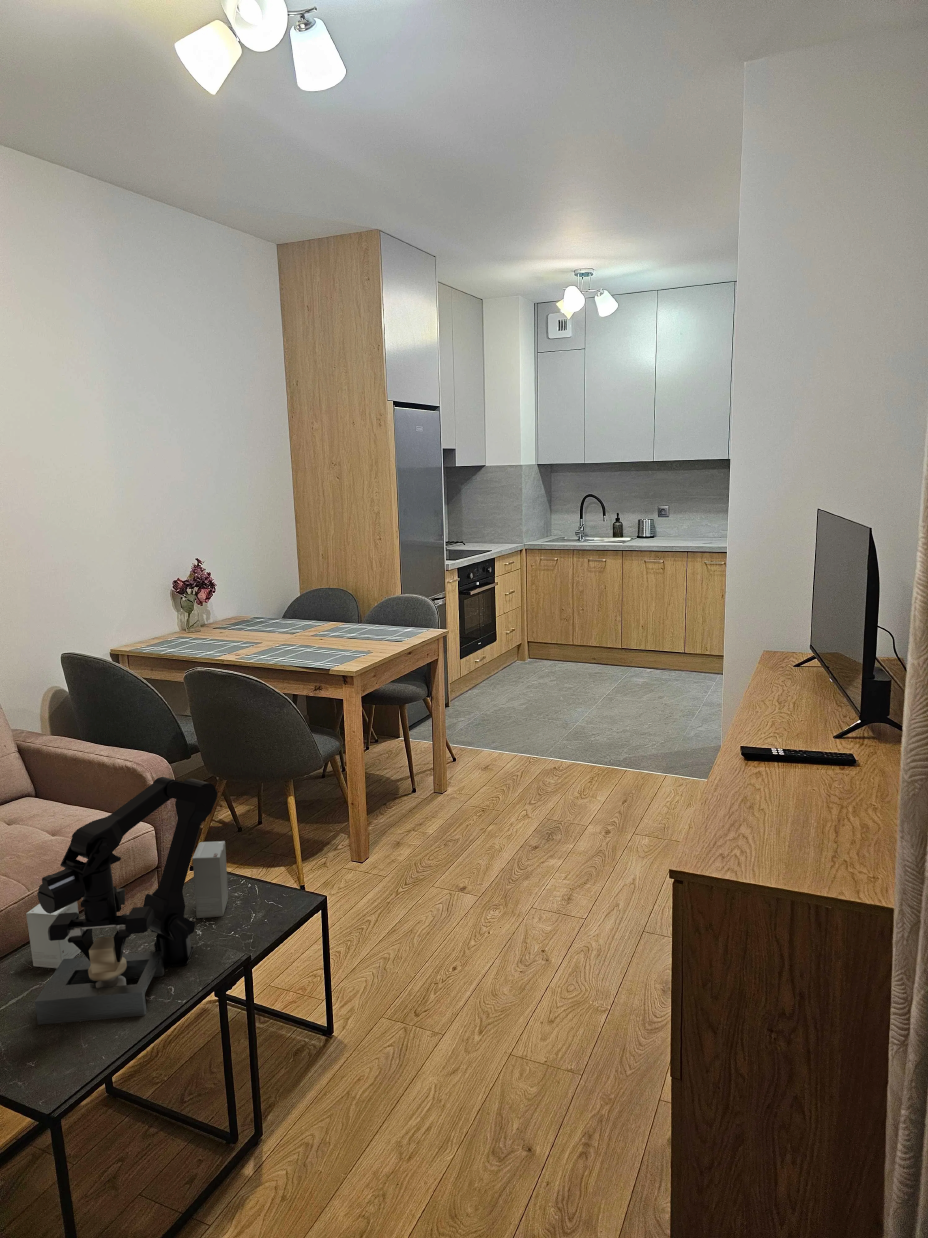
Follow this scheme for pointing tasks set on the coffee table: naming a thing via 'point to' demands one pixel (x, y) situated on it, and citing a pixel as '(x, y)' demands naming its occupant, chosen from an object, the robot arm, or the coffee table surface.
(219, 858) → the skincare box
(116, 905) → the robot arm
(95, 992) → the keyhole plate
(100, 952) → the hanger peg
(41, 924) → the supplement box
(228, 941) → the coffee table surface
